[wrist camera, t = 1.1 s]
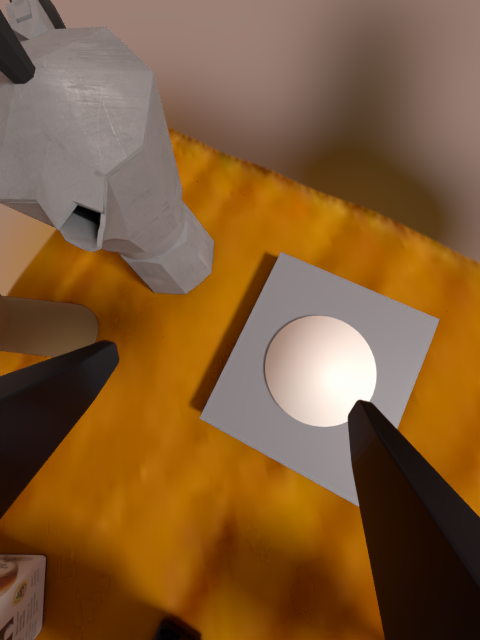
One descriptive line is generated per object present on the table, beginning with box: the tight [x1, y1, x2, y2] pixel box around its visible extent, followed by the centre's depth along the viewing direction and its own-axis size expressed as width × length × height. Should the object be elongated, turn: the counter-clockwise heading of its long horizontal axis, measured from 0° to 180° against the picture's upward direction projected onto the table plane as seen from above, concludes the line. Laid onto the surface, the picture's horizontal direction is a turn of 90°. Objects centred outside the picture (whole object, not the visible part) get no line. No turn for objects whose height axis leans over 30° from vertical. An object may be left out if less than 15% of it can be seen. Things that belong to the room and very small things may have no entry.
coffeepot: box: [0, 0, 214, 294], centre depth 15 cm, size 15×9×18 cm, turn 19°
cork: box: [0, 295, 98, 357], centre depth 18 cm, size 6×6×11 cm
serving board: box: [200, 252, 440, 506], centre depth 21 cm, size 18×16×2 cm
